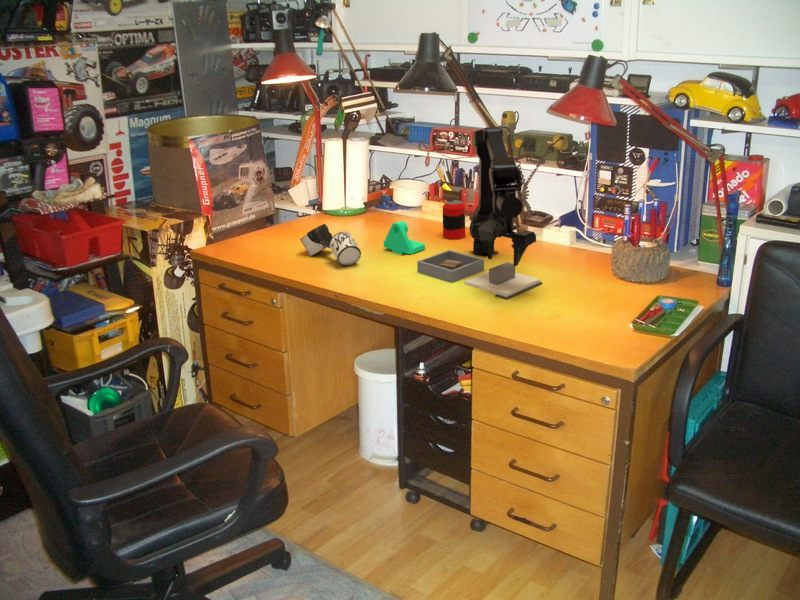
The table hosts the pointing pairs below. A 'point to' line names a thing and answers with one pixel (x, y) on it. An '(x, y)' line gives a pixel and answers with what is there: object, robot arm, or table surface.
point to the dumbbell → (332, 245)
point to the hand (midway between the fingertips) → (502, 262)
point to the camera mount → (401, 240)
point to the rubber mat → (519, 291)
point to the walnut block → (451, 264)
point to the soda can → (453, 220)
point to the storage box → (433, 269)
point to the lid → (502, 280)
